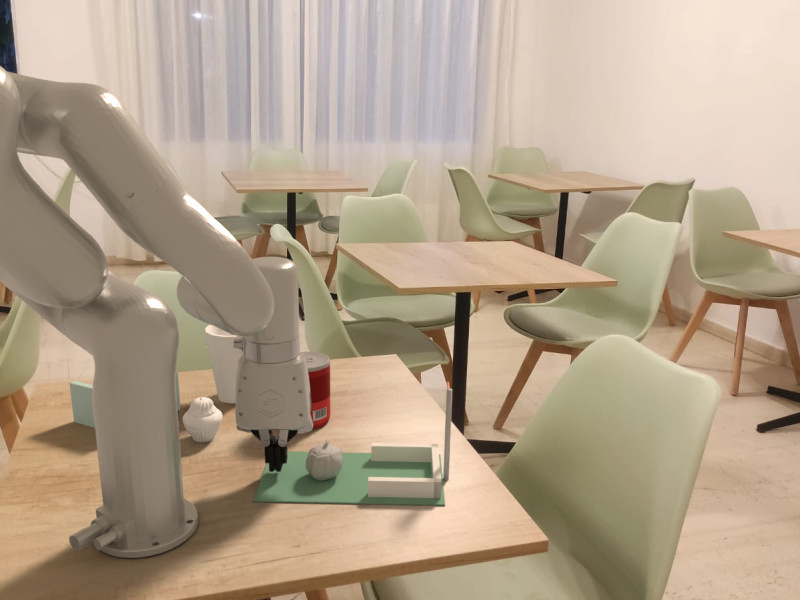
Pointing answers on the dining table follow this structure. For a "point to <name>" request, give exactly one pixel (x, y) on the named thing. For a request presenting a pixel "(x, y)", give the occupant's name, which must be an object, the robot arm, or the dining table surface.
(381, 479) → the white u-shaped frame
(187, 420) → the muffin
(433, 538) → the dining table surface
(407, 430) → the dining table surface
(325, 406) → the canned food
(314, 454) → the garlic
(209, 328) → the foam cup
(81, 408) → the right angle wall
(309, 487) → the felt mat
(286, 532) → the dining table surface
